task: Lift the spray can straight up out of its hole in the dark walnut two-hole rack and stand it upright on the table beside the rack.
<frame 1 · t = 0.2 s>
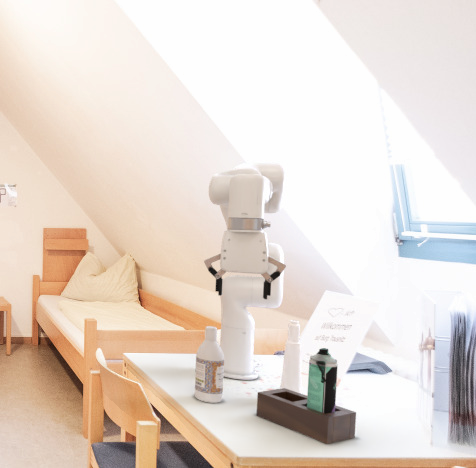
hand: (242, 296, 128), 31 cm above the table, tool pointing down, fingers open, 9 cm apart
rack: (303, 426, 129), on the table
cosmetic bottle: (290, 399, 148), on the table
bath foam: (208, 399, 147), on the table
spray can: (319, 433, 125), resting in rack
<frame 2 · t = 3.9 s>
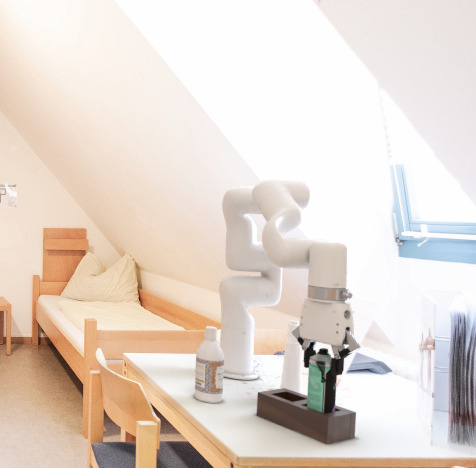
hand: (322, 370, 125), 15 cm above the table, tool pointing down, fingers closed on spray can, 5 cm apart
spray can: (319, 433, 125), resting in rack, touching gripper
everything else where it was.
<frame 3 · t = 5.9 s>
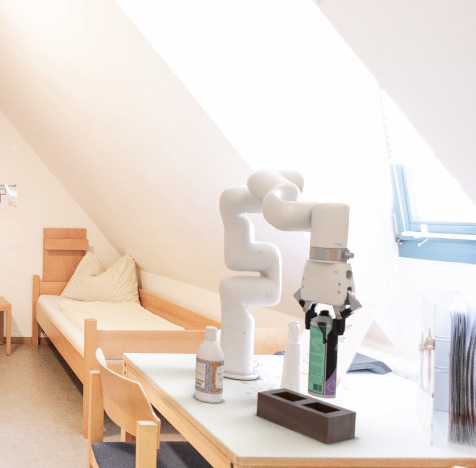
hand: (323, 331, 125), 24 cm above the table, tool pointing down, fingers closed on spray can, 5 cm apart
spray can: (321, 395, 125), point 9 cm above the table, touching gripper
everything else where it was.
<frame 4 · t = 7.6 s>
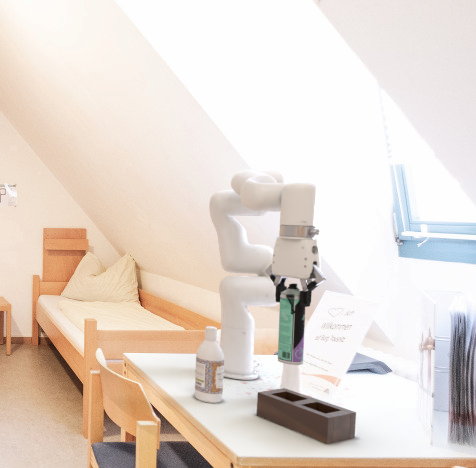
hand: (292, 303, 134), 29 cm above the table, tool pointing down, fingers closed on spray can, 5 cm apart
spray can: (290, 362, 135), point 14 cm above the table, touching gripper
everything else where it was.
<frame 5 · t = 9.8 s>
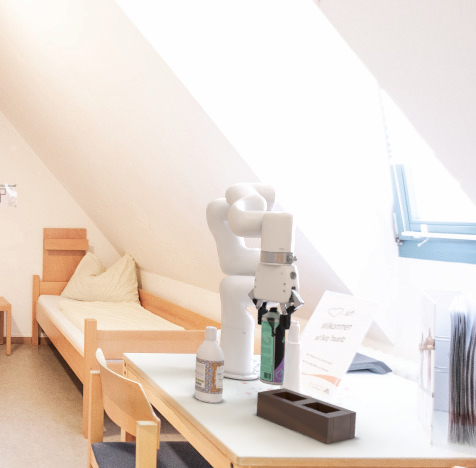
hand: (273, 326, 141), 22 cm above the table, tool pointing down, fingers closed on spray can, 5 cm apart
spray can: (271, 383, 141), point 7 cm above the table, touching gripper
everything else where it was.
when the fingers open (15 cm above the table, at t = 11.8 s): spray can stays where it is, on the table.
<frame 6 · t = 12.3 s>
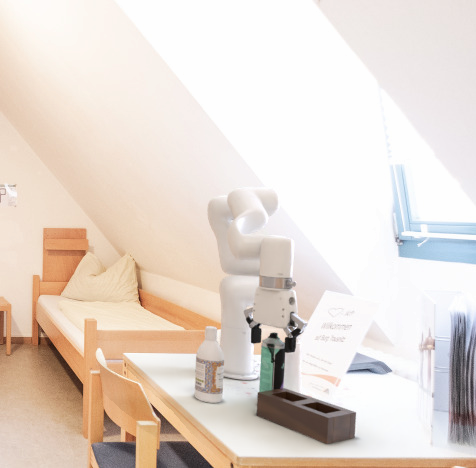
hand: (272, 347, 141), 16 cm above the table, tool pointing down, fingers open, 9 cm apart
spray can: (270, 407, 141), on the table
everything else where it was.
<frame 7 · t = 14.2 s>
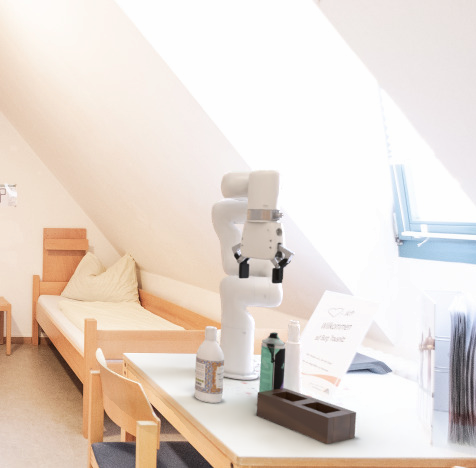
hand: (259, 280, 142), 33 cm above the table, tool pointing down, fingers open, 9 cm apart
nothing on the table moved.
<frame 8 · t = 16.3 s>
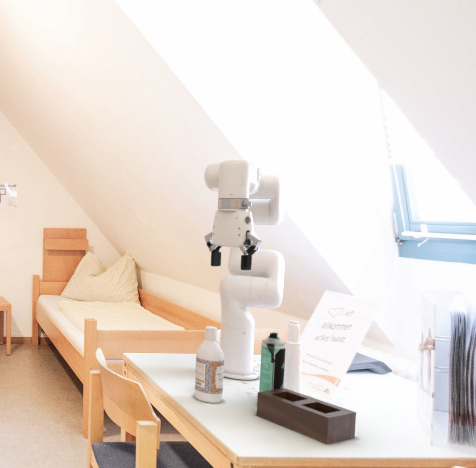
hand: (230, 268, 146), 36 cm above the table, tool pointing down, fingers open, 9 cm apart
nothing on the table moved.
at the end: spray can inside the target area (0.4 cm from its centre), on the table; spray can tilted 0°; spray can touching table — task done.
